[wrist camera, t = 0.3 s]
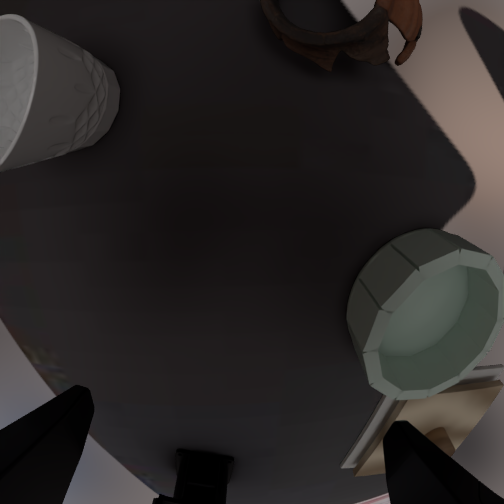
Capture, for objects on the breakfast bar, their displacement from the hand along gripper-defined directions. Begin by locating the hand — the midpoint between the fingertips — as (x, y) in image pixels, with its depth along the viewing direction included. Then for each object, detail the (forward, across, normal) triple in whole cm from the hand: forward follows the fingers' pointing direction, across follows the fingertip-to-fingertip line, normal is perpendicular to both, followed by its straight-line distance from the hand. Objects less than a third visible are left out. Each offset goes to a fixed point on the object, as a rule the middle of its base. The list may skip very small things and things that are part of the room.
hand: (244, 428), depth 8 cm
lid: (+14, -22, +17) cm, 31 cm away
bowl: (+14, -14, +2) cm, 20 cm away
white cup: (+14, +13, -9) cm, 22 cm away
